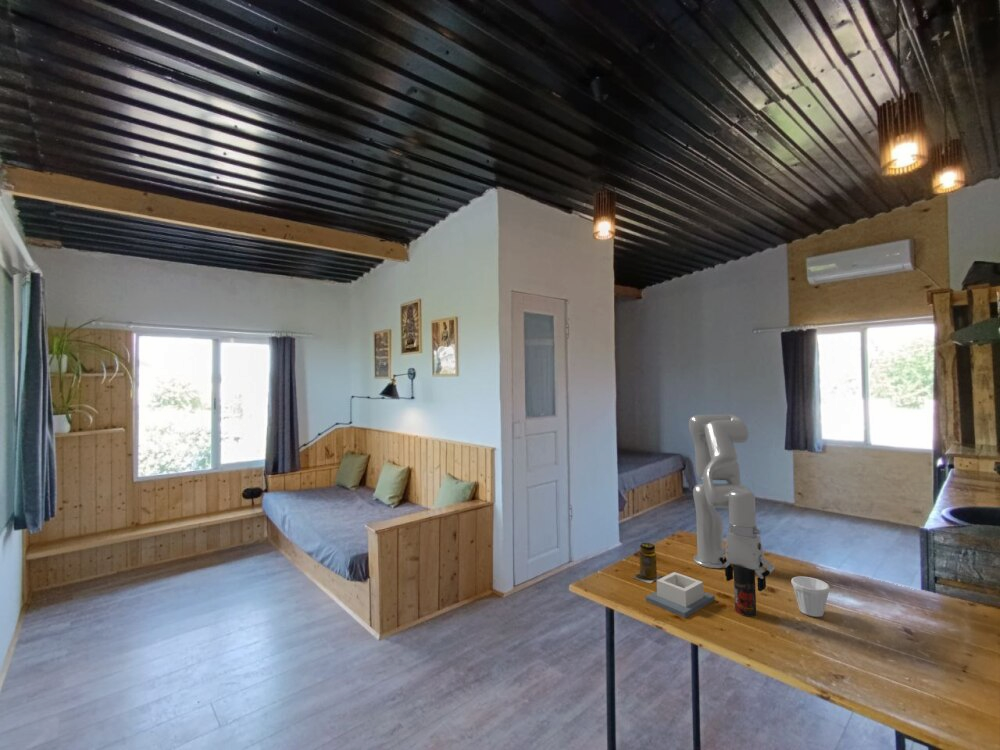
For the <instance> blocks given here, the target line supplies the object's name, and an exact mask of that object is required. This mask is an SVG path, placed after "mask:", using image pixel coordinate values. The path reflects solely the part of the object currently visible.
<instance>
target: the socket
mask: <svg viewBox="0 0 1000 750" xmlns="http://www.w3.org/2000/svg"><path fill="white" fill-rule="evenodd" d="M715 598H716V597H715V595H713V594H711V593H709V592H705V591H704V581H701V580H698V579H695V578H693V577H690V576H688V575H684V574H683V573H682V574H681V573H678V572H676V571H674V572H670V573H669V574H667V575H665V576H663V577H662V576H661V577H660V578H658V579H657V580H656V591H655V592H653V593H651V594H648V595H646V596H645V602H647V603H650V604H651V605H653V606H656V607H659V608H661V609H662V610H663V609H664V611H668V612H670V613H673V614H674V615H677V616H679V617H682V618H684V619H686V618H687V617H689V616H690V615H692V614H694V613H696V612H697V611H699V610H701V609H703V608H704V607H706V606H707V605H709V604H710V603H713V602H714V601H715Z"/></svg>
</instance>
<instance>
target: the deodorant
mask: <svg viewBox="0 0 1000 750" xmlns="http://www.w3.org/2000/svg"><path fill="white" fill-rule="evenodd" d="M732 565H733V566H732V567H733V588H734V589H733V591H734V593H733V594H734V610H735V613H737V614H738V615H740V616H743V617H748V618H751V617H755V616H757V595H756V594H757V593H756V572H755V570H751V569H748V568H745V567H742V566H738V565H735V564H732Z"/></svg>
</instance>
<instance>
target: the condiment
mask: <svg viewBox="0 0 1000 750" xmlns="http://www.w3.org/2000/svg"><path fill="white" fill-rule="evenodd" d="M639 547H640V548H639V550H640V551H639V553H638V554H639V573H637V574H635V575H634V576H632V578H633V579H636V580H638V581H641V582H643V583H647V584H652V583H653V582H655V581H657V580H658V579H660V578H662V575H658V574H657V573H658V572H657V570H658V569H657V553H656V546H655V544H653V543H652V542H651V543H650V542H643V543H641V544H640V546H639Z"/></svg>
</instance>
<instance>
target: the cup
mask: <svg viewBox="0 0 1000 750" xmlns="http://www.w3.org/2000/svg"><path fill="white" fill-rule="evenodd" d="M790 582H791V585H792V587H793V591H794V594H795V598H796V601H797V605H798V609H799V611H800V613H801V614H803V615H805V616H808V617H811V618H822V617H823V616H824V613H825V610H826V609H825V608H826V605H827V600H828V596H829V593H830V591H831V586H830V584H828V583H826V582H825V581H824V580H821V579H819V578H815V577H810V576H795V577H792V578H791V581H790ZM821 616H822V617H821Z"/></svg>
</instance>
